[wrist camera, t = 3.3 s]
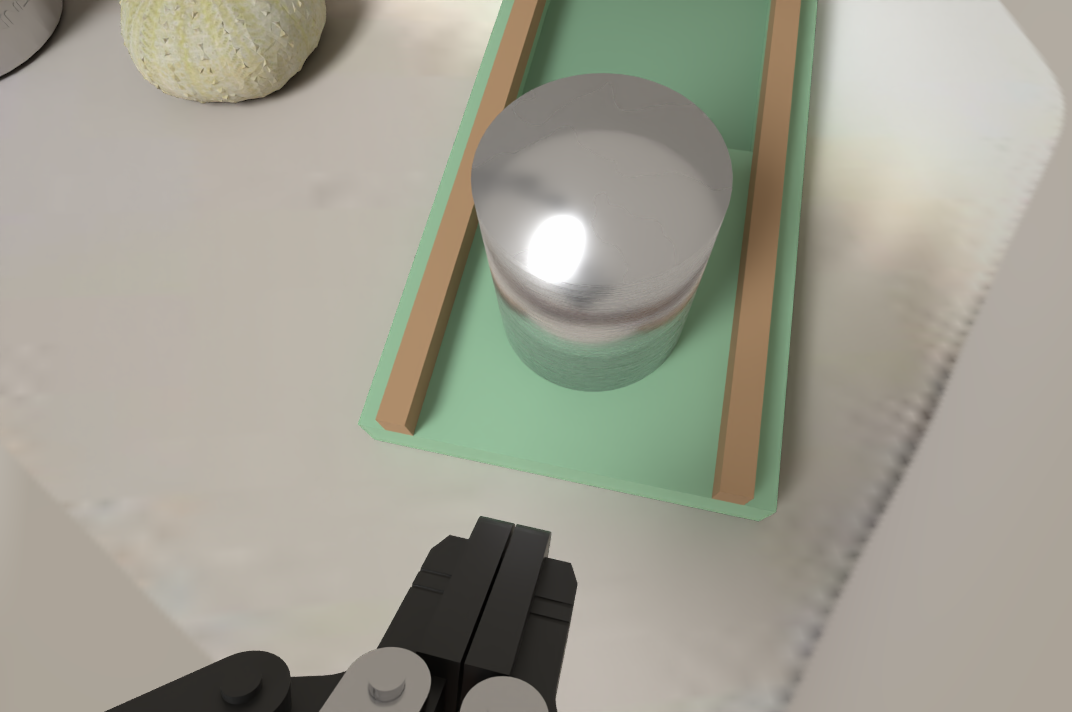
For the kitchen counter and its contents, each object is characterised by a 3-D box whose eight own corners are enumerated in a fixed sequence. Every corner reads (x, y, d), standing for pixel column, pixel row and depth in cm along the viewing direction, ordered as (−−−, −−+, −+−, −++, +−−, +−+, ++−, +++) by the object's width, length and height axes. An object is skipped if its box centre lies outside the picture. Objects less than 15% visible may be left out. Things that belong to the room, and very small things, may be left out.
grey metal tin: (481, 372, 22) (440, 260, 15) (524, 217, 25) (505, 59, 18) (669, 408, 21) (716, 307, 14) (695, 244, 24) (745, 89, 17)
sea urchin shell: (105, -17, 32) (148, -174, 27) (265, 48, 37) (325, -73, 32) (111, 116, 28) (162, -37, 23) (287, 166, 34) (358, 50, 29)
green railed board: (374, 439, 24) (333, 402, 19) (530, -35, 33) (524, -126, 29) (758, 521, 22) (801, 498, 18) (806, -7, 31) (841, -100, 27)
